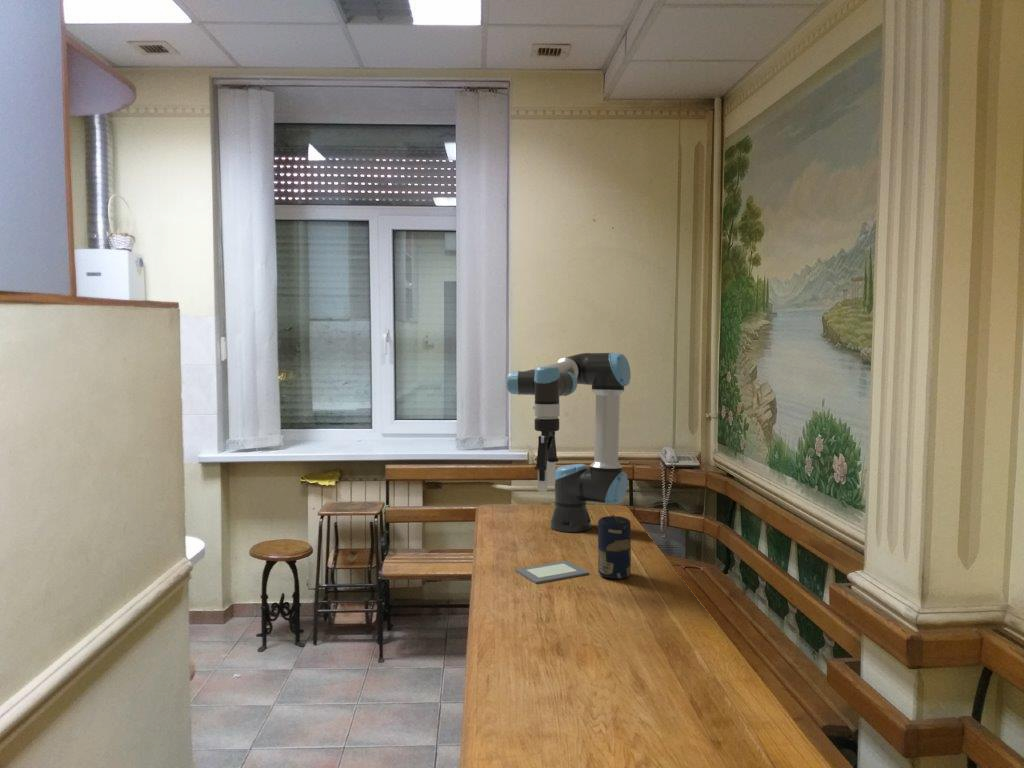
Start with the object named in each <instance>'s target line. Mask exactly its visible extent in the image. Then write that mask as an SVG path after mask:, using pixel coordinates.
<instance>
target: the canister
mask: <svg viewBox="0 0 1024 768" xmlns="http://www.w3.org/2000/svg"><path fill="white" fill-rule="evenodd" d="M631 524H632V523H631V520H630V519H628V518H627V517H623V516H620V515H619V516H617V515H614V514H613V515H610V516H609V515H608V516H604V517H603V516H602V517H601V518H599V519H598V522H597V531H598V532H597V535H598V536H597V550H598V551H597V552H598V553H597V559H598V560H597V561H598V563H597V564H598V565H597V567H598V568H597V569H598V574H599V575H600V576H601V577H603V578H608V579H613V580H615V579H625V578H627V577H629V576H630V574H631V571H632V570H631V567H632V566H631V565H632V564H631V563H632V561H631V560H632V550H631V549H632V548H631V541H632V539H631V538H632V537H631V534H632V533H631V532H632V531H631V530H632V529H631V528H632V527H631Z"/></svg>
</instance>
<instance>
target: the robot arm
mask: <svg viewBox="0 0 1024 768" xmlns="http://www.w3.org/2000/svg"><path fill="white" fill-rule="evenodd" d="M508 373H509V374H508V375H507V377H506V388H507V391H508V392H509V394H511V395H518V396H521V395H527V396H528V395H529V396H534V406H533V407H532V410H534V417H535V418H534V430H535V431H536V432H540V433H541V434H540V435H538V437H537V439H538V441H537V443H538V445H537V446H538V447H537V455H536V457H537V458H536V466H535V467H534V470H537V492H540V493H541V492H542V493H547V492H548V484H554V508H553V511H552V515H551V518H550V522H549V525H550V526H549V527H550V529H552V530H554V531H557V532H563V533H564V532H565V533H577V532H578V533H580V532H581V533H582V532H586V531H589V530H591V528H592V520H591V517H590V513H589V512H588V511H589V510H588V507H587V502H588V503H589V502H590V503H599V504H600V503H601V504H606V505H610V504H611V505H617V504H620V503H621V502H622V501H623V500H624V498H625V496H626V494H627V490H628V484H629V483H628V482H629V478H628V474H627V473H626V472H625V471H623V465H621V463H620V462H619V445H620V444H619V443H620V442H619V441H620V437H619V435H620V407H621V406H620V404H621V403H620V401H621V400H620V399H621V397H620V396H621V395H622V393H624V392H625V387H627V386H628V385H629V384H630V383H631V368H630V364H629V360H628V358H627V357H626V356H625V355H624V354H623V353H620V352H619V353H618V352H617V353H616V352H584V353H583V352H582V353H578V354H573V355H570V356H566V357H563V358H560V359H559V360H558V361H557V362H555V363H551V364H547V365H544V366H538V367H536V368H532V369H529V370H524V371H520V370H516V371H514V370H513V371H510V372H508ZM578 385H584V386H585V385H587V386H588V385H589V386H591V391H592V392H593V393H594V394H595V409H594V410H595V415H594V416H595V417H594V421H595V422H594V449H593V450H594V451H593V453H594V454H593V455H594V456H593V459H594V460H593V462H592V463H590V465H589V469H588V468H587V465H586V464H583V463H576V464H575V463H572V464H566V465H560V466H558V467H557V465H556V463H558V462H559V458H558V455H557V446H556V445H557V444H556V432H558V431H559V430H560V419H559V417H560V415H561V414H560V412H561V411H560V409H561V408H560V405H561V404H560V397H563V396H564V397H567V396H569V395H571V394H574V392H575V391H576V390H577V388H578ZM556 467H557V468H556Z"/></svg>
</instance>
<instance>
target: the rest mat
mask: <svg viewBox="0 0 1024 768" xmlns="http://www.w3.org/2000/svg"><path fill="white" fill-rule="evenodd" d="M514 570H515V572H516V573H517V574H519V573H520V574H519V575H521V576H522V577H524V578H526V579H527V580H529V581H531V582H532V583H534V584H535V585H536V584H543V583H548V582H554V581H559V580H565V579H569V578H570V579H571V578H575V577H576V578H577V577H581V576H587V575H590V572H589V571H587V570H585V569H583V568H582V567H580V566H578V565H576V564H574V563H572V562H570V561H569V560H562V561H561V560H560V561H556V562H549V563H544V564H543V563H542V564H537V565H532V566H526V567H519V568H515V569H514Z"/></svg>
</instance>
